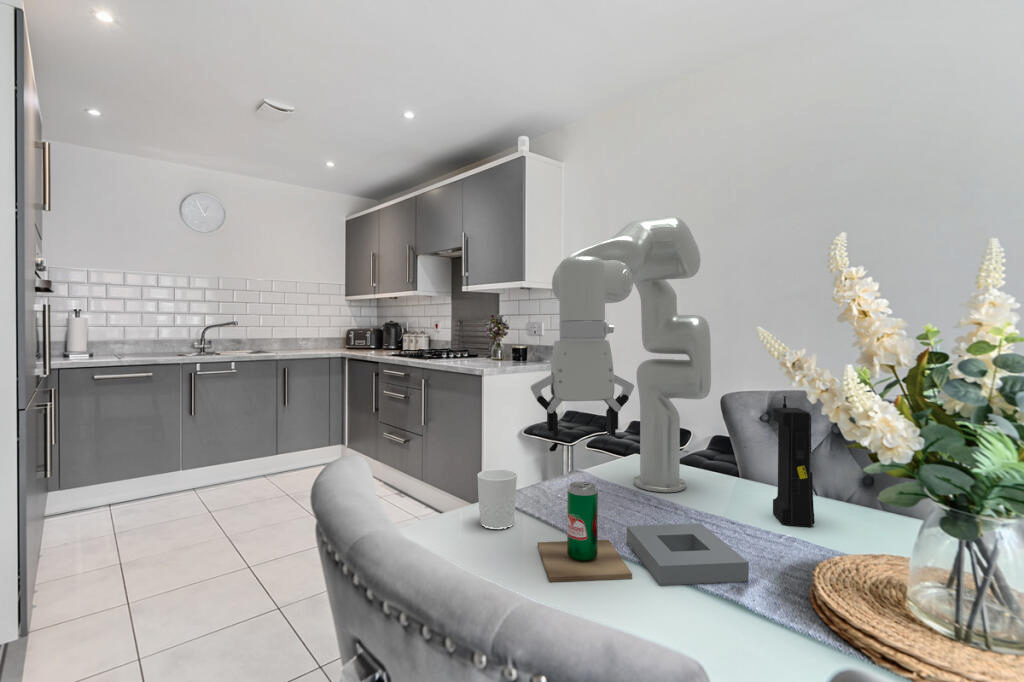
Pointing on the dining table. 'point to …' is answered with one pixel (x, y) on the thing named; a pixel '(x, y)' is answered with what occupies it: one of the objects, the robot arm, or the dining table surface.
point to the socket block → (686, 554)
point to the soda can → (582, 521)
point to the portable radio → (794, 468)
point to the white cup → (497, 497)
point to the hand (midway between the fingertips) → (582, 434)
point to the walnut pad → (582, 563)
